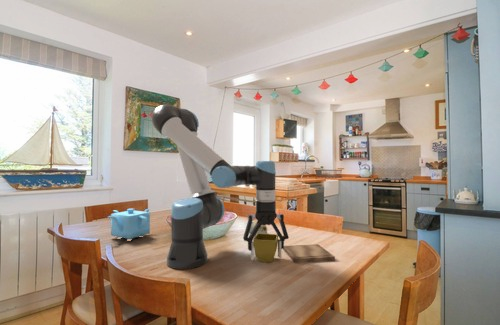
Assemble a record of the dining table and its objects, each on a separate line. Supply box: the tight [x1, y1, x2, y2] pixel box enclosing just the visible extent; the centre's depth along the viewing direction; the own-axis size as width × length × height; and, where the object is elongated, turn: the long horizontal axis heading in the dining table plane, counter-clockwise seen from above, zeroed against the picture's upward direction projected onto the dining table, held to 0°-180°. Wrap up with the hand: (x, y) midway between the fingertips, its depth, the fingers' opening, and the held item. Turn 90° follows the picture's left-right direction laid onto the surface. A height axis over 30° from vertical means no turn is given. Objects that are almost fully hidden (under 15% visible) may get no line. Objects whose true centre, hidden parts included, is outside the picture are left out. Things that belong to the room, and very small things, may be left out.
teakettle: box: [107, 208, 151, 239], centre depth 135 cm, size 19×19×15 cm
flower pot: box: [252, 233, 279, 263], centre depth 103 cm, size 9×9×9 cm
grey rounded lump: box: [249, 220, 268, 236], centre depth 140 cm, size 10×10×10 cm
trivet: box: [282, 243, 336, 264], centre depth 109 cm, size 16×16×2 cm
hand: (266, 257), depth 103 cm, fingers closed on flower pot, 10 cm apart
